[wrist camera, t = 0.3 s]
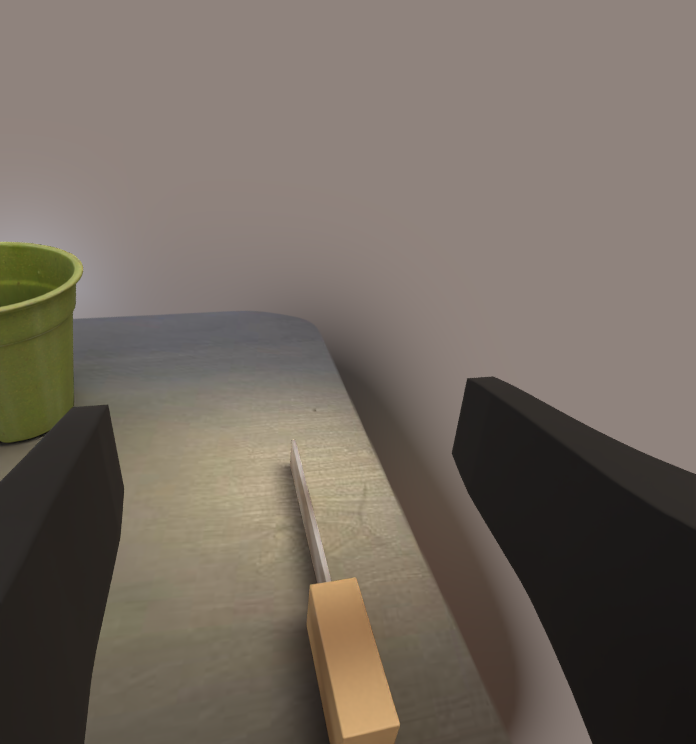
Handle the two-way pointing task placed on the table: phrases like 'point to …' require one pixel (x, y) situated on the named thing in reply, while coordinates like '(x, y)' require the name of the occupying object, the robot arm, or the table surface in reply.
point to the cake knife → (343, 645)
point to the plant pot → (35, 337)
